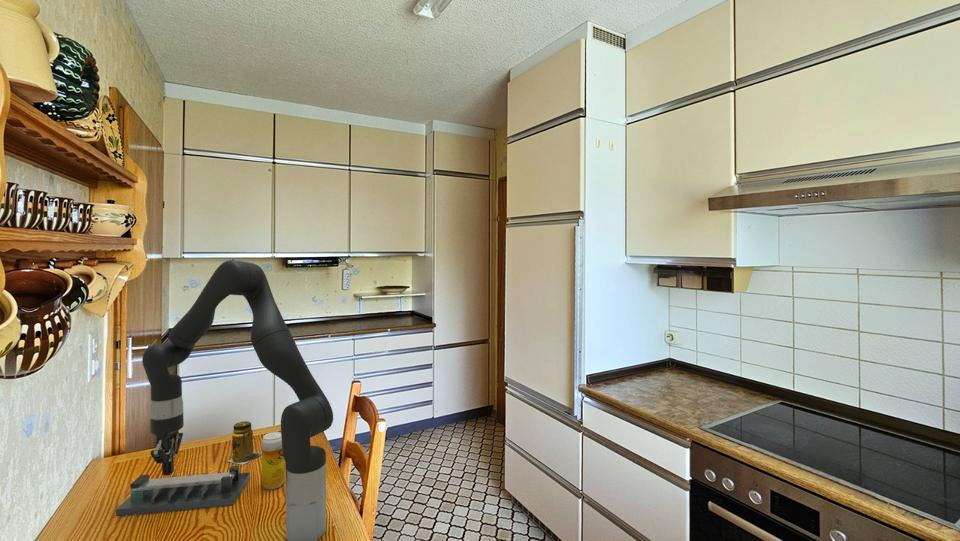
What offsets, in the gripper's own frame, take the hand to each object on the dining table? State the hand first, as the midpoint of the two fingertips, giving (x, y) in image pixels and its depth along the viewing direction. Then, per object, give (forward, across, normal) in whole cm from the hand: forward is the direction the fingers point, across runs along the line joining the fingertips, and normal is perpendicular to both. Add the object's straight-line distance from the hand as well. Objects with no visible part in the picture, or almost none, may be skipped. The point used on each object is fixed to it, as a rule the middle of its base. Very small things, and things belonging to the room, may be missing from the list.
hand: (168, 473), depth 119 cm
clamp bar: (+3, 0, -4) cm, 6 cm away
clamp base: (+7, 0, -5) cm, 9 cm away
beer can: (+7, +2, -27) cm, 28 cm away
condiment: (+7, +22, -13) cm, 27 cm away
